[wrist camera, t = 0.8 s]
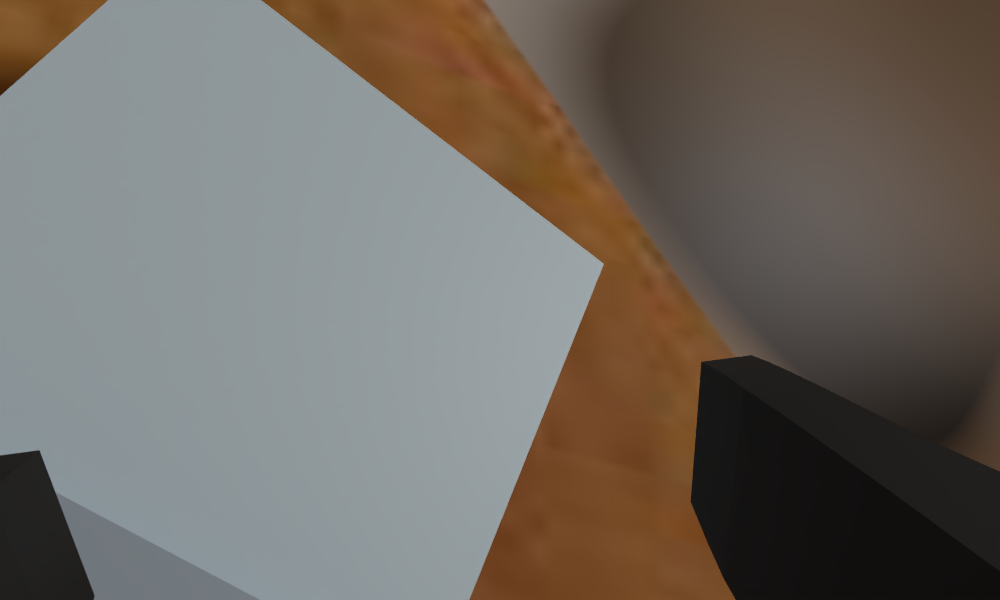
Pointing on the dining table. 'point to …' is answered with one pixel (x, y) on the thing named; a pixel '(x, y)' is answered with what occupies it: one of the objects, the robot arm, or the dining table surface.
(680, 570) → the dining table surface
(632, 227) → the dining table surface
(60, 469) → the lid
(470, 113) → the dining table surface
